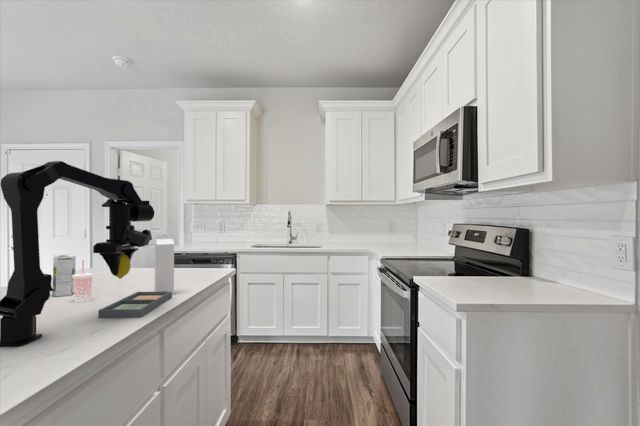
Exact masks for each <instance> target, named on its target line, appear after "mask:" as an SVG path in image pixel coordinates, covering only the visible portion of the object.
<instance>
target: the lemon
mask: <svg viewBox="0 0 640 426" xmlns="http://www.w3.org/2000/svg"><path fill="white" fill-rule="evenodd" d="M109 270H110V269H109ZM130 270H131V260H129V258H128V256H126V255H125V254H123V255H122V256H121V257H120V263H119V271H118V275H113V273H112V272H111V270H110V273H111V274H112V275H113V276H114V277H116V278H118V279H121V280H122V278H123V277H125V276H127V275H128V273H129V272H130Z"/></svg>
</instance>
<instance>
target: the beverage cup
mask: <svg viewBox="0 0 640 426" xmlns="http://www.w3.org/2000/svg"><path fill="white" fill-rule="evenodd" d="M84 263H85V260H84V259H81V273H75V274H74V275H72V278H73V283H74V293H73V294H74V295H73V297H74V302H75V303H85V302H89V301H92V300H91V299H92V290H93V289H92V284H93V277H94V273H92V272H85V269H84V268H85V267H84V265H85V264H84Z"/></svg>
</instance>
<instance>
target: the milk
mask: <svg viewBox="0 0 640 426" xmlns="http://www.w3.org/2000/svg"><path fill="white" fill-rule="evenodd" d="M162 291H172V296H173V295H175V242H174V234H162V235H161V234H157V235H155V241H154V292H162Z"/></svg>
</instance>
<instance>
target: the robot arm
mask: <svg viewBox="0 0 640 426" xmlns="http://www.w3.org/2000/svg"><path fill="white" fill-rule="evenodd" d="M58 180H62V181H64V182H69V183H72V184H74V185H75V184H76V185H79V186H82V187H84V188H88V189H91V190H94V191H96V192H97V193H99V194H100V195H102V196H103V197H104V198H107V200H106V201H105V202H104V203H102V204H101V207H102V208H109V209H108V219H109V220H108V221H109V223H108V224H109V225H106V226H105V228H106V230H108V231H109V232H108V235H109V236H108V237H109V238H108V239H106V240H105V241H101V242H96V243H95V244H94V245H93V247H92V252H93V254H99V256H101V257H102V259H103V260H104V262H105V263H106V265H107V266H108V268H109V270H111V271H110V273H111V272H112V273H113V274H112V273H111V274H112V275H113V276H114V275H118V271H119V263H120V257H121V256H122V255H123V254H125V255H126V256H128V258H129V260H130V261H132V257H133V255H134V254H135V253H136V252H137V251H139V249H140V248H142V247H146V246H149V243H150V242H151V241H152V240H153V238H152V236H153V235H152V233H151V230H148V229H143V230H142V231H141V230H139V231H138V230H136V229H135V226H134V225H133V224H132V222H151V220H153V219H154V216H155V209H154V208H153V207H154V206H152V205H151V204H150V200H142V199H141V197H140V196H139V194H138V193H137V191H136V189H135V186H134V184H133V183H132V182H131V181H129V180H125V179H119V178H111V177H105V176H102V175H99V174H96V173H93V172H90V171H88V170H85V169H82V168H79V167H76V166H74V165H71V164H68V163H66V162H65V161H63V160H62V161H61V160H54V161H48V162H45V163H43V164H42V165H39V166H36V167H32V168H30V169H26V170H24V171H20V172H19V171H18V172H9V173H8V174H7V173H6V174H5V176H3V177H2V178H1V180H0V189H1V192H2V197H3V199H4V200H5V203H6V204H7V205H8V207H9V209H10V213H11V228H12V230H11V231H12V251H13V272H12V274H11V276H10V278H9V280H8V282H7V288H6V294H5V295H4V296H3V298H2V299H0V316H1V318H0V347H4V346H5V347H8V346H9V347H11V346H13V347H14V346H24V345H26V344H28V343H30V342H32V341H34V340H36V339H39V338H41V337H43V334H42V333H37V316H38V315H39V316H40V315H41V314H42V311H43V308H44V306H45V304H46V303H47V301H49V299H50V297H51V292H53V286H52V281H53V276H52V274H48V273H44V272H43V271H42V268H41V264H40V262H41V260H40V259H41V258H40V239H39V237H40V236H39V217H38V216H39V215H38V209H39V207H40V205H41V203H42V201H43V199H44V196H45V188H46V187H48V186H50V185H52V184H54V183H55V182H57V181H58Z"/></svg>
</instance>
